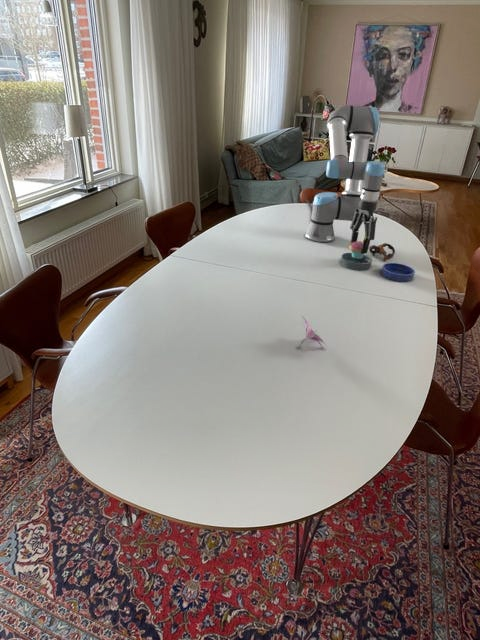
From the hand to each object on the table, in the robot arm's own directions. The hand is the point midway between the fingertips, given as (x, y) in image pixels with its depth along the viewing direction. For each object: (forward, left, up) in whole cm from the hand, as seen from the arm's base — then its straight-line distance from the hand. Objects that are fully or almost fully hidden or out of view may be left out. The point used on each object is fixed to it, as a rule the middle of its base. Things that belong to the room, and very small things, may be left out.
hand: (358, 249), depth 197 cm
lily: (+57, -53, -8) cm, 79 cm away
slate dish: (0, 0, -7) cm, 7 cm away
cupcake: (0, 0, -4) cm, 4 cm away
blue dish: (+15, +12, -7) cm, 21 cm away
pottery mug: (-5, +17, -8) cm, 19 cm away
